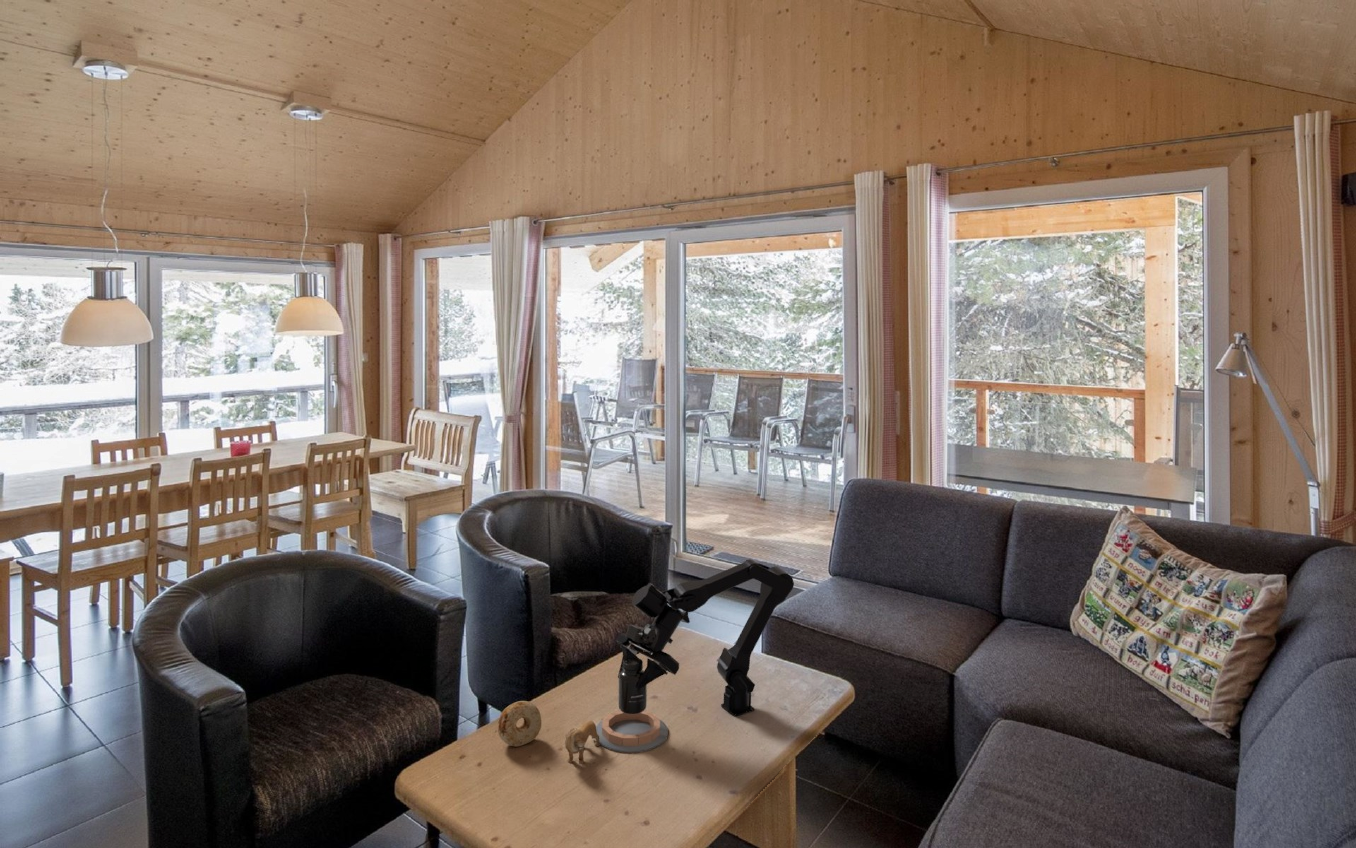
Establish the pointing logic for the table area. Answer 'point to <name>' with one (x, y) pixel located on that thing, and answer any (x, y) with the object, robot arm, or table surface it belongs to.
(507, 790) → the table surface
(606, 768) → the table surface
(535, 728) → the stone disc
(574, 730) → the lion figurine
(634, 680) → the supplement bottle
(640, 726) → the ring tray
